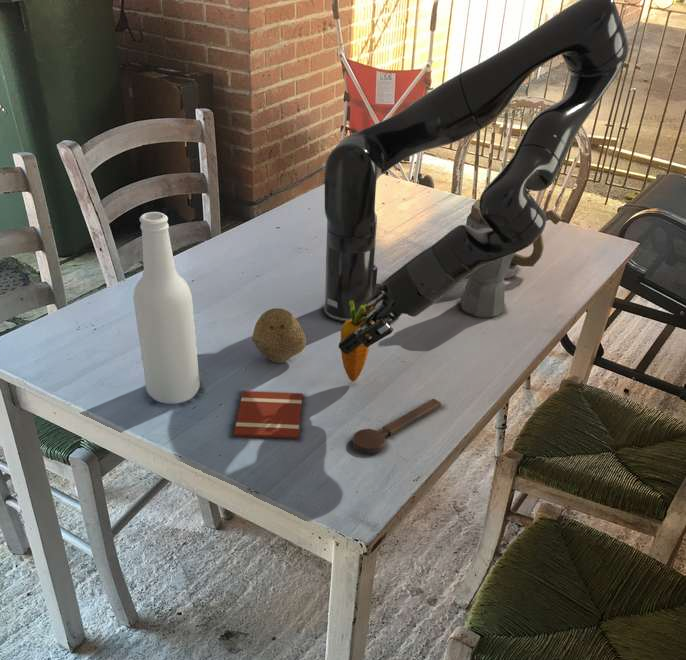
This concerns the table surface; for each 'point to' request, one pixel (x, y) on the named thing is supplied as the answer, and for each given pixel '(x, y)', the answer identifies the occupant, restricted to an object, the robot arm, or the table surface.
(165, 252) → the alcohol
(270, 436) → the tea towel
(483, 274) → the coffeepot
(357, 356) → the carrot
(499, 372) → the table surface
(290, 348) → the brown round lump
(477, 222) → the tankard
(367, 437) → the wooden spoon
